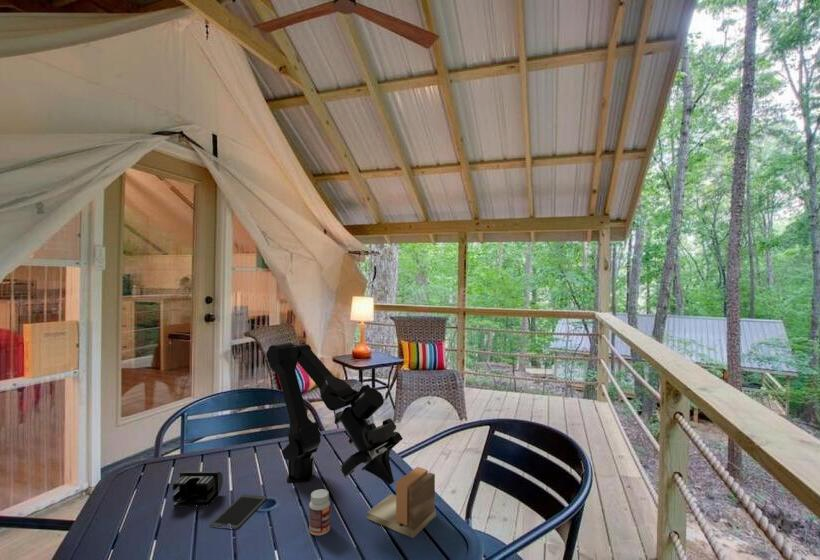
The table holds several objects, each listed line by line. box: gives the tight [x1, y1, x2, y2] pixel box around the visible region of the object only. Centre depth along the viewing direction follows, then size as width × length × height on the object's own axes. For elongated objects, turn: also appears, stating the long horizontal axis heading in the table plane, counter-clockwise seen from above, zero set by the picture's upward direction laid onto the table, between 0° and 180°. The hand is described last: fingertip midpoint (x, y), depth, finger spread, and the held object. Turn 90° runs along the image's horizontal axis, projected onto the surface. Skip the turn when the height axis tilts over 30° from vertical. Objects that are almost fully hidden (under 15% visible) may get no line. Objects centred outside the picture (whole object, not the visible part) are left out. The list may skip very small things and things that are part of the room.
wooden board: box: [395, 466, 429, 525], centre depth 97 cm, size 3×9×9 cm, turn 146°
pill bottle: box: [308, 488, 331, 536], centre depth 94 cm, size 5×5×8 cm
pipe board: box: [366, 472, 437, 539], centre depth 99 cm, size 13×10×10 cm
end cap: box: [172, 471, 224, 507], centre depth 107 cm, size 10×7×7 cm
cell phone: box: [209, 493, 268, 531], centre depth 101 cm, size 7×14×1 cm, turn 170°
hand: (392, 483), depth 101 cm, fingers closed
